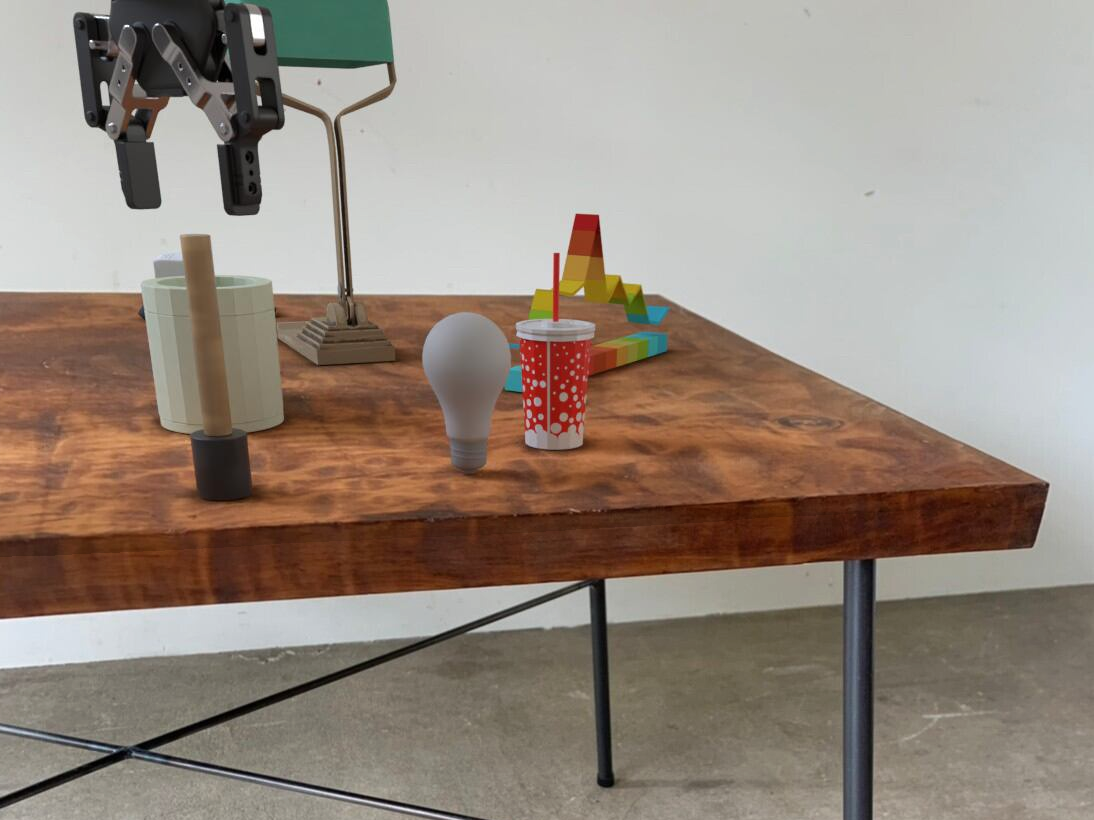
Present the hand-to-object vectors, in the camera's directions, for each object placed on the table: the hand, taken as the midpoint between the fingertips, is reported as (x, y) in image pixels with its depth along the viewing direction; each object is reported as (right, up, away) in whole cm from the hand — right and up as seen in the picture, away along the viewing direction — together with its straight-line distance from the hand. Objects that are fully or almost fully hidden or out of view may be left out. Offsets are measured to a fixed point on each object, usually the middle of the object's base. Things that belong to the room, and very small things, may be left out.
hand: (192, 212), depth 70 cm
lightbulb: (+16, -13, +14) cm, 24 cm away
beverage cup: (+22, -8, +22) cm, 32 cm away
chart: (+26, +7, +52) cm, 59 cm away
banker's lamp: (-3, +12, +62) cm, 63 cm away
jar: (-6, -5, +27) cm, 28 cm away
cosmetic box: (-11, -1, +35) cm, 37 cm away
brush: (0, -15, +8) cm, 17 cm away
